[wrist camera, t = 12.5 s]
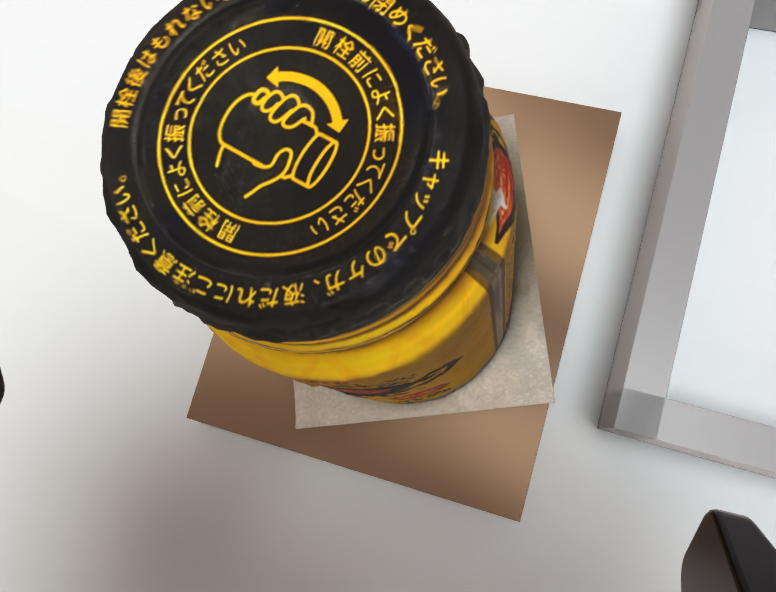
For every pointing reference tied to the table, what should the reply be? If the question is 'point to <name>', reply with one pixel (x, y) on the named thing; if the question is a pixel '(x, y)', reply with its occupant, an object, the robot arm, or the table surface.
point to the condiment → (332, 203)
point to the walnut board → (464, 429)
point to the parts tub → (685, 255)
